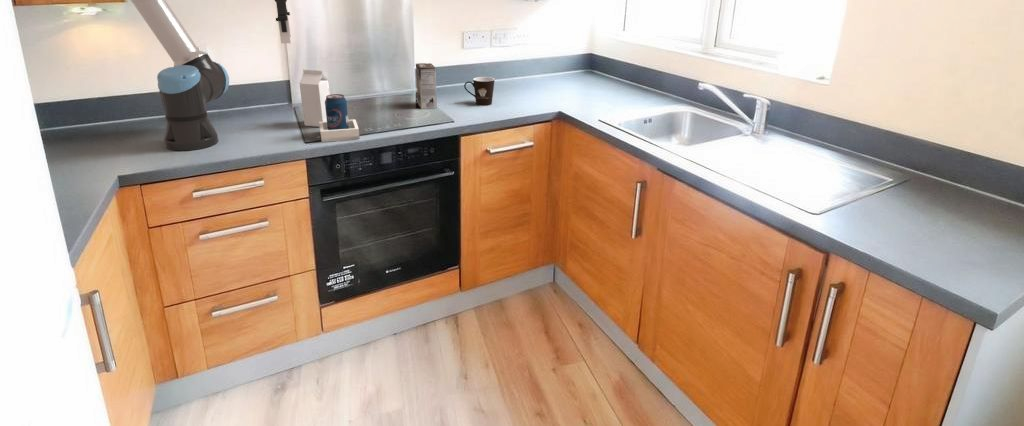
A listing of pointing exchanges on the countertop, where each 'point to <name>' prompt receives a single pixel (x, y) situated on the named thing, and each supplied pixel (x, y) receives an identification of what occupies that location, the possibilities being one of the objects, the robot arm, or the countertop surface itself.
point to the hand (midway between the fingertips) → (286, 40)
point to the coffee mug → (482, 90)
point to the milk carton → (314, 96)
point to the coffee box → (426, 85)
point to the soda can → (336, 112)
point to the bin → (339, 132)
